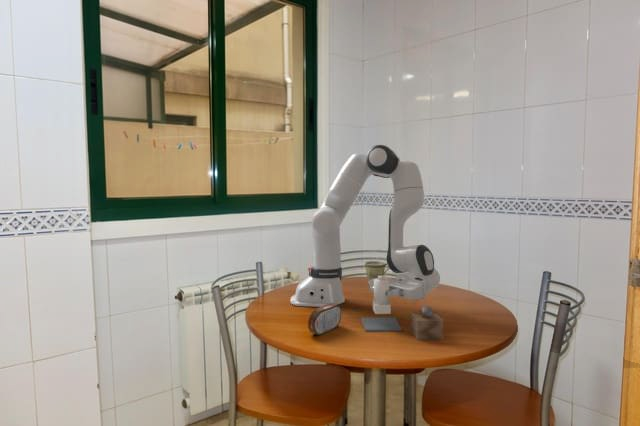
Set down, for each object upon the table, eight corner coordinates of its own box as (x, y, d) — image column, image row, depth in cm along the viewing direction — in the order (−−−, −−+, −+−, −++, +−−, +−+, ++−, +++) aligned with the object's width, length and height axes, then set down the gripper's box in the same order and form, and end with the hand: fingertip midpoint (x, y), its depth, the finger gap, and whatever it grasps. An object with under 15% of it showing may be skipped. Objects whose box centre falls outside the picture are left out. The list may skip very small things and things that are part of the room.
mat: (365, 331, 133) (365, 329, 133) (361, 319, 145) (361, 317, 145) (402, 330, 134) (402, 329, 134) (394, 318, 146) (394, 317, 146)
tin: (335, 324, 141) (335, 300, 140) (343, 326, 139) (343, 301, 138) (307, 336, 129) (307, 310, 129) (314, 339, 127) (314, 312, 127)
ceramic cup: (369, 286, 193) (369, 265, 192) (361, 281, 203) (361, 261, 202) (394, 284, 197) (394, 263, 196) (385, 279, 206) (385, 260, 206)
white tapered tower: (375, 314, 137) (375, 278, 136) (372, 309, 142) (372, 274, 141) (390, 313, 137) (390, 277, 136) (387, 309, 142) (387, 274, 141)
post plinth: (417, 339, 126) (417, 311, 125) (411, 330, 134) (411, 303, 133) (443, 339, 126) (443, 311, 125) (435, 330, 134) (435, 303, 133)
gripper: (384, 272, 155) (358, 277, 146) (429, 281, 139) (402, 288, 130) (384, 288, 155) (358, 294, 147) (429, 299, 139) (402, 307, 131)
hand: (379, 291), depth 138 cm, fingers closed on white tapered tower, 5 cm apart
